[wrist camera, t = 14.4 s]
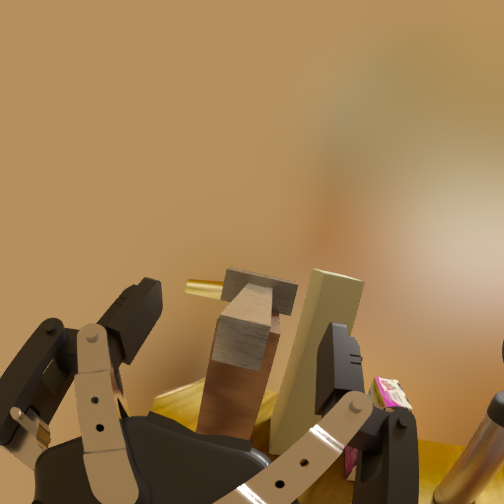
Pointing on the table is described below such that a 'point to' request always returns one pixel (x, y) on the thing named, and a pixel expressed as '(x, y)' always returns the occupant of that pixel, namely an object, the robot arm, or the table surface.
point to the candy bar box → (383, 397)
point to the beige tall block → (310, 355)
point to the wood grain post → (235, 392)
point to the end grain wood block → (249, 316)
